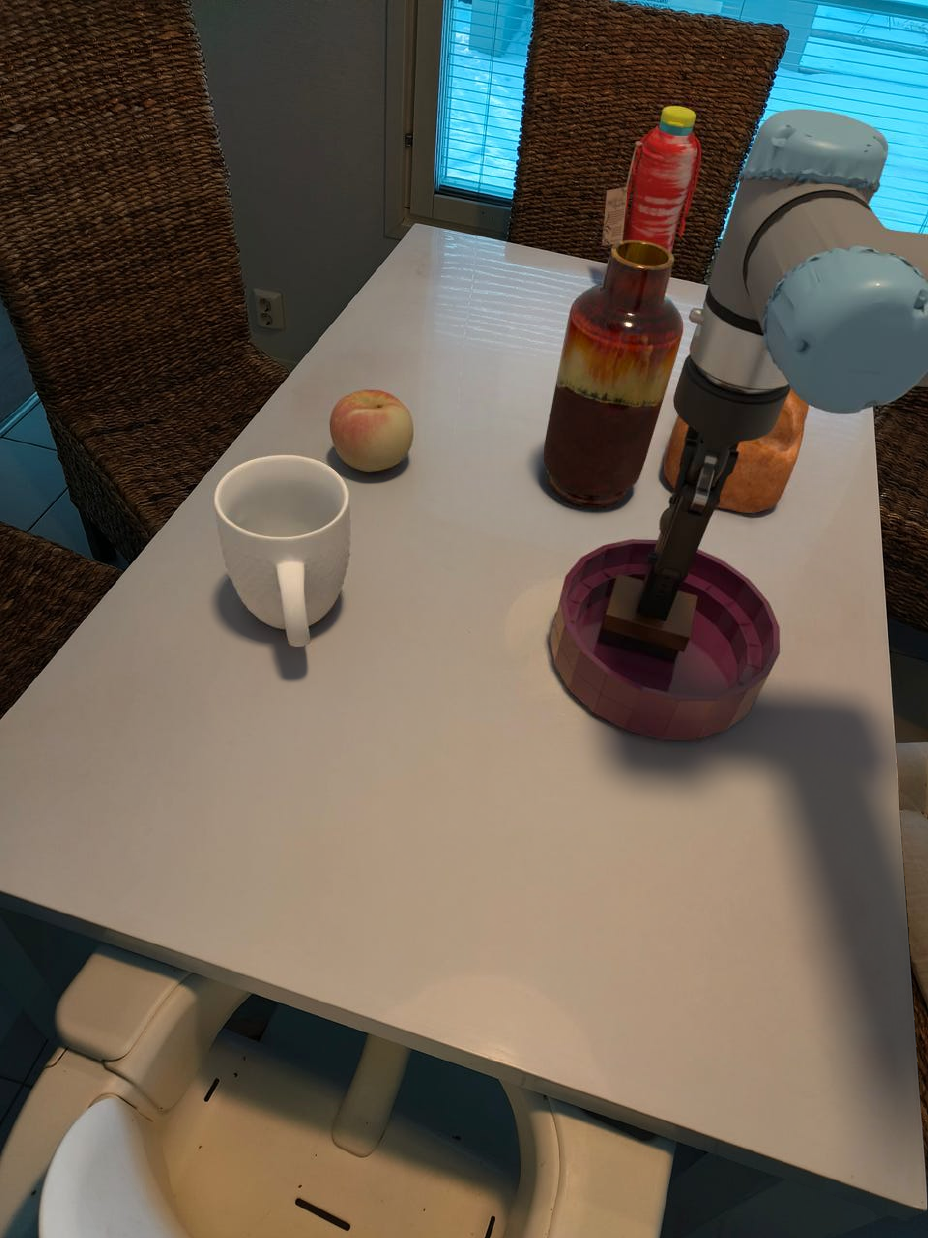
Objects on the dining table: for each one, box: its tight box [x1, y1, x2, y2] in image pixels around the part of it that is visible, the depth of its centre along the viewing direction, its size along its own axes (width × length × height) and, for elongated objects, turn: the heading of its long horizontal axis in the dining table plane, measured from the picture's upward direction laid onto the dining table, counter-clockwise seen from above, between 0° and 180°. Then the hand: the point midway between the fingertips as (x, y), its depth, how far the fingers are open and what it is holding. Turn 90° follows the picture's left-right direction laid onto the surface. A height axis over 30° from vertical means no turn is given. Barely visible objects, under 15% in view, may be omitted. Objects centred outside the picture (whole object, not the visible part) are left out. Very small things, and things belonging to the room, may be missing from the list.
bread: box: [663, 388, 810, 514], centre depth 98 cm, size 14×26×16 cm, turn 160°
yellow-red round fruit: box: [329, 389, 414, 473], centre depth 92 cm, size 9×9×8 cm
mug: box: [213, 454, 351, 648], centre depth 73 cm, size 15×11×13 cm
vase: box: [542, 240, 684, 509], centre depth 86 cm, size 11×11×26 cm
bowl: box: [549, 538, 781, 740], centre depth 76 cm, size 19×19×6 cm
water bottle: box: [601, 105, 702, 254], centre depth 120 cm, size 12×8×25 cm, turn 74°
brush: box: [602, 504, 697, 662], centre depth 74 cm, size 8×6×15 cm
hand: (654, 600), depth 76 cm, fingers closed on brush, 3 cm apart
